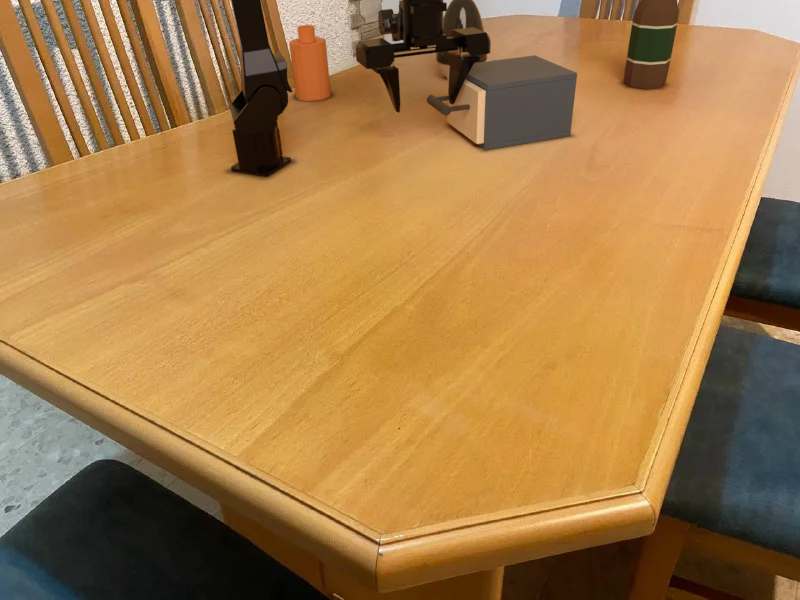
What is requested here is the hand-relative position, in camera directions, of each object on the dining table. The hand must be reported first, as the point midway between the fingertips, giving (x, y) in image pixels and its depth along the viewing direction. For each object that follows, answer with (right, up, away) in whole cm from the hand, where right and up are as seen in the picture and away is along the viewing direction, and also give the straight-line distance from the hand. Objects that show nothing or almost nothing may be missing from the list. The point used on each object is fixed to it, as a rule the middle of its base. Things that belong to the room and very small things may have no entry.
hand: (424, 107), depth 96 cm
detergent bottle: (-20, +11, +27) cm, 36 cm away
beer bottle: (+43, +12, +26) cm, 52 cm away
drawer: (+10, -2, +5) cm, 12 cm away
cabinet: (+14, -2, +7) cm, 16 cm away
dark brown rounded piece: (+9, +17, +35) cm, 40 cm away
